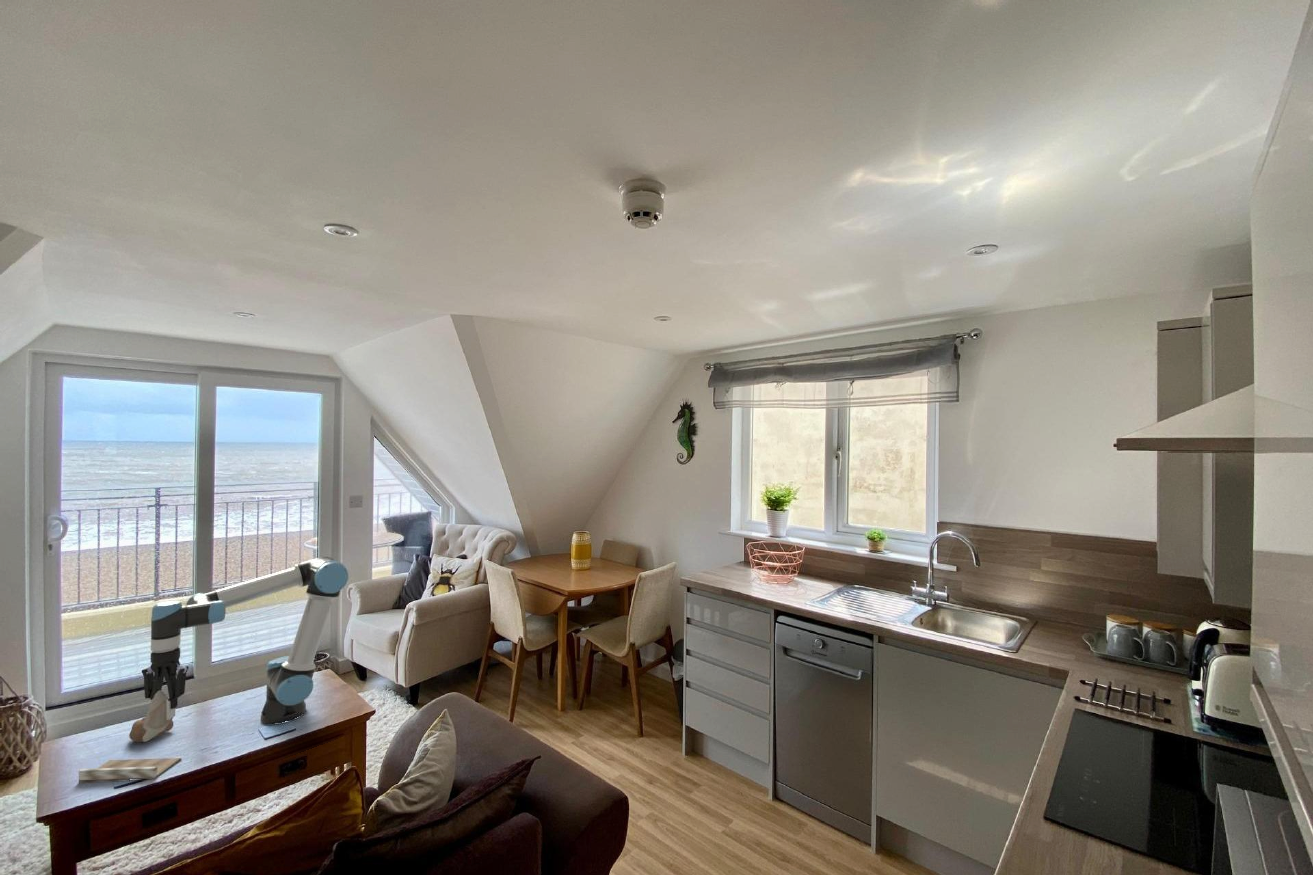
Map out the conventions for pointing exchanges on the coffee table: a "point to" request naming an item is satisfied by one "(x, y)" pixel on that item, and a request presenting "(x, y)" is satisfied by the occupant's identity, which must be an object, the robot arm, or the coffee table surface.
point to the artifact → (156, 716)
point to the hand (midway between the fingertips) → (164, 717)
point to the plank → (128, 770)
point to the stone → (144, 730)
